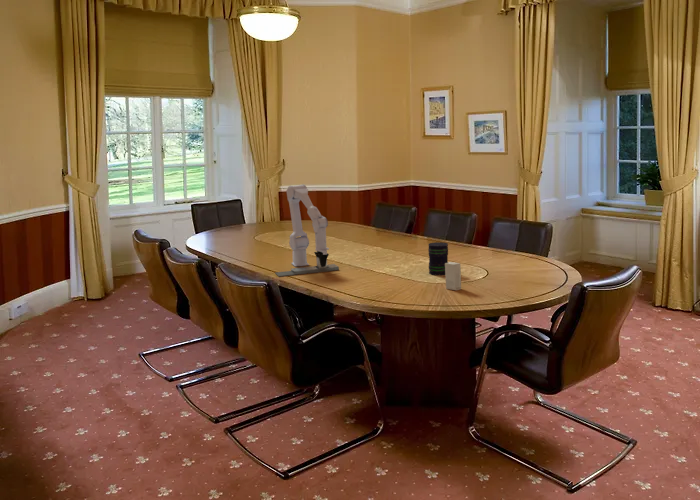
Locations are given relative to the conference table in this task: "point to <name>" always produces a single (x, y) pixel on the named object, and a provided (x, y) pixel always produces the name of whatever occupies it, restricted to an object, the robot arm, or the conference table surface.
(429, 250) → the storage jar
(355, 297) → the conference table surface
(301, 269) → the rail
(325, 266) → the pale grey square block
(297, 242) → the robot arm
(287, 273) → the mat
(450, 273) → the skincare box
